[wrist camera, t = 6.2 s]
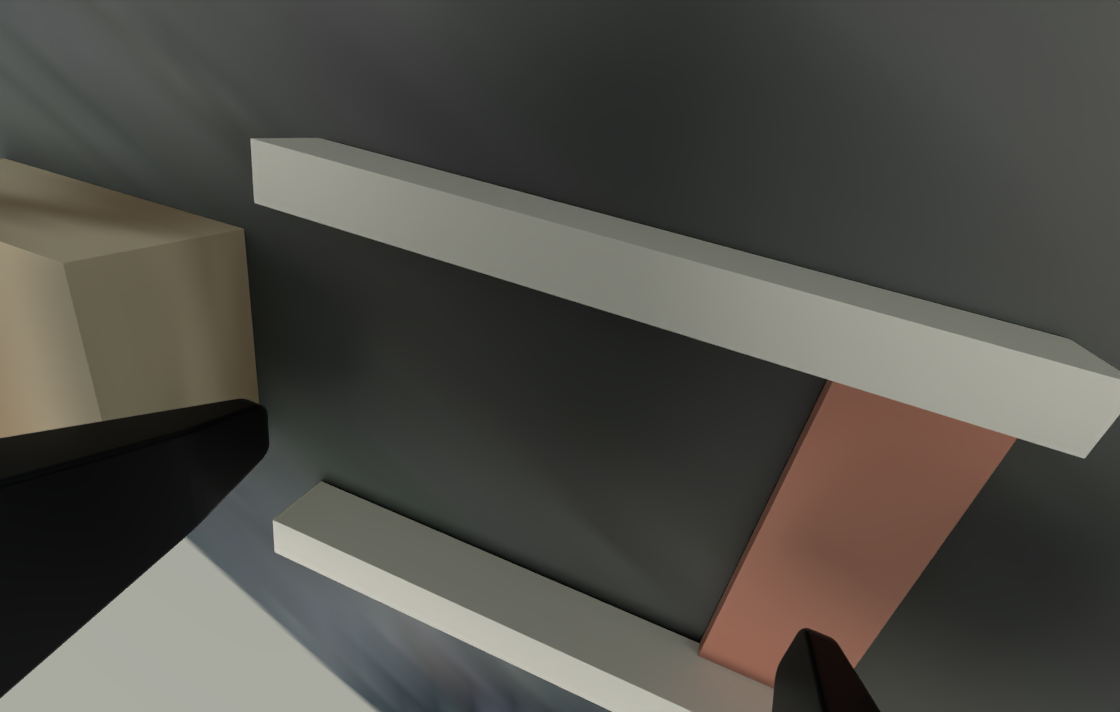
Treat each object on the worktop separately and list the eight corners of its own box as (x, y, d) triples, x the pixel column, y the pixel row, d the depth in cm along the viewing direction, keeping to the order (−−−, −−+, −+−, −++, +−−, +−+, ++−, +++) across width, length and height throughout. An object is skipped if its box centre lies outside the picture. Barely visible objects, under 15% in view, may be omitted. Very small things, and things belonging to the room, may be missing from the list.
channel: (1069, 338, 7) (1142, 385, 6) (802, 724, 11) (809, 804, 10) (319, 137, 10) (250, 138, 8) (321, 511, 13) (274, 551, 12)
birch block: (252, 227, 11) (63, 262, 8) (268, 423, 13) (124, 510, 10) (17, 157, 13) (-218, 166, 10) (66, 344, 15) (-112, 399, 12)
